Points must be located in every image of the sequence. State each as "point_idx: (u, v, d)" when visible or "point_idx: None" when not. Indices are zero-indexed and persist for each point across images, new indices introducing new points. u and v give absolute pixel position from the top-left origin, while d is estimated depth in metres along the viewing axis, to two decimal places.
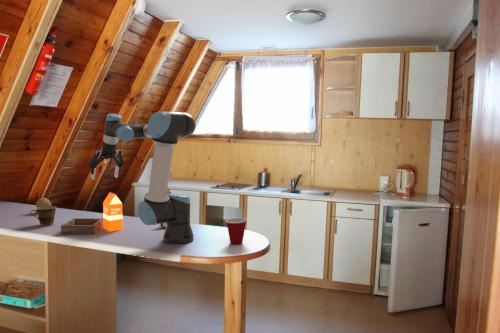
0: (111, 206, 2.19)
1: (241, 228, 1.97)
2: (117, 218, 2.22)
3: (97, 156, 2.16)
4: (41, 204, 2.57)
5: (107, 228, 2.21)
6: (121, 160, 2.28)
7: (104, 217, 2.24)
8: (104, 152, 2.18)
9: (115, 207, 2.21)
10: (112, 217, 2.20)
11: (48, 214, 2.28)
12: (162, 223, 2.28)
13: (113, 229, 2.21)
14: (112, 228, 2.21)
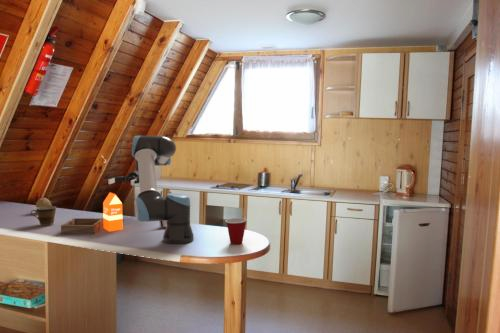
0: (111, 206, 2.19)
1: (241, 228, 1.97)
2: (117, 218, 2.22)
3: None
4: (41, 204, 2.57)
5: (107, 228, 2.21)
6: None
7: (104, 217, 2.24)
8: None
9: (115, 207, 2.21)
10: (112, 217, 2.20)
11: (48, 214, 2.28)
12: (162, 223, 2.28)
13: (113, 229, 2.21)
14: (112, 228, 2.21)
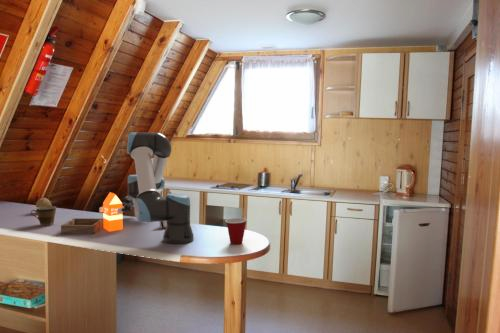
0: (111, 206, 2.19)
1: (241, 228, 1.97)
2: (117, 218, 2.22)
3: None
4: (41, 204, 2.57)
5: (107, 228, 2.22)
6: (129, 205, 2.30)
7: (104, 217, 2.24)
8: None
9: (115, 207, 2.21)
10: (112, 217, 2.20)
11: (48, 214, 2.28)
12: (163, 223, 2.27)
13: (113, 229, 2.21)
14: (112, 228, 2.21)
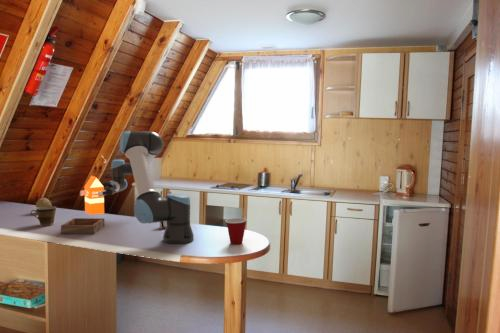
0: (92, 189, 2.17)
1: (241, 228, 1.97)
2: (98, 201, 2.20)
3: None
4: (41, 204, 2.57)
5: (88, 211, 2.19)
6: (111, 189, 2.27)
7: (85, 200, 2.22)
8: None
9: (96, 190, 2.18)
10: (93, 201, 2.18)
11: (48, 214, 2.28)
12: (163, 223, 2.27)
13: (94, 212, 2.19)
14: (93, 211, 2.18)
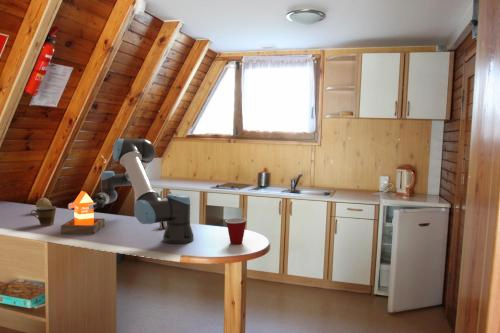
0: (81, 204, 2.16)
1: (241, 228, 1.97)
2: (88, 217, 2.18)
3: None
4: (41, 204, 2.57)
5: None
6: (102, 201, 2.26)
7: (75, 216, 2.21)
8: None
9: (86, 205, 2.17)
10: (82, 216, 2.16)
11: (48, 214, 2.28)
12: (163, 224, 2.27)
13: None
14: None
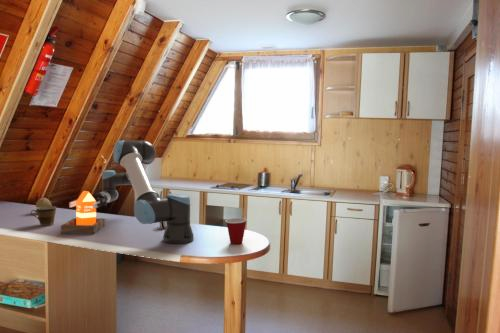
0: (84, 203, 2.17)
1: (241, 228, 1.97)
2: (90, 216, 2.19)
3: None
4: (41, 204, 2.57)
5: None
6: (104, 200, 2.29)
7: (77, 215, 2.21)
8: None
9: (88, 204, 2.18)
10: (85, 215, 2.17)
11: (48, 214, 2.28)
12: (163, 224, 2.27)
13: None
14: None
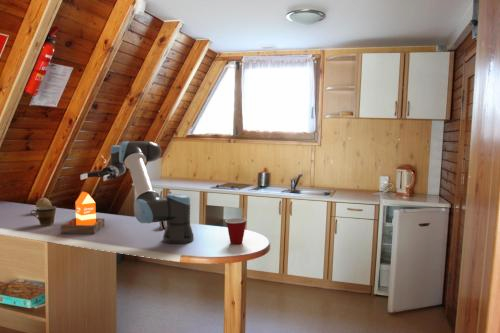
0: (84, 205, 2.16)
1: (241, 228, 1.97)
2: (90, 217, 2.18)
3: None
4: (41, 204, 2.57)
5: None
6: (114, 173, 2.37)
7: (77, 217, 2.20)
8: None
9: (88, 206, 2.17)
10: (85, 217, 2.16)
11: (48, 214, 2.28)
12: (163, 224, 2.26)
13: None
14: None
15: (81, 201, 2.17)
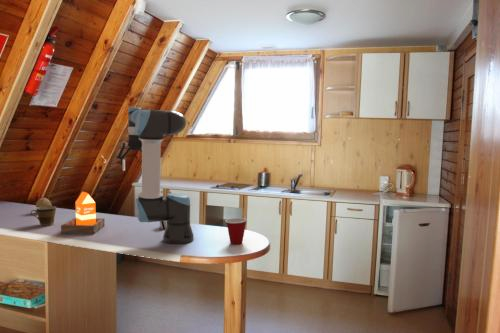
0: (84, 205, 2.16)
1: (241, 228, 1.97)
2: (90, 217, 2.18)
3: (123, 147, 2.35)
4: (41, 204, 2.57)
5: None
6: None
7: (77, 217, 2.20)
8: (129, 143, 2.35)
9: (88, 206, 2.17)
10: (85, 217, 2.16)
11: (48, 214, 2.28)
12: (164, 224, 2.26)
13: None
14: None
15: (81, 201, 2.17)
